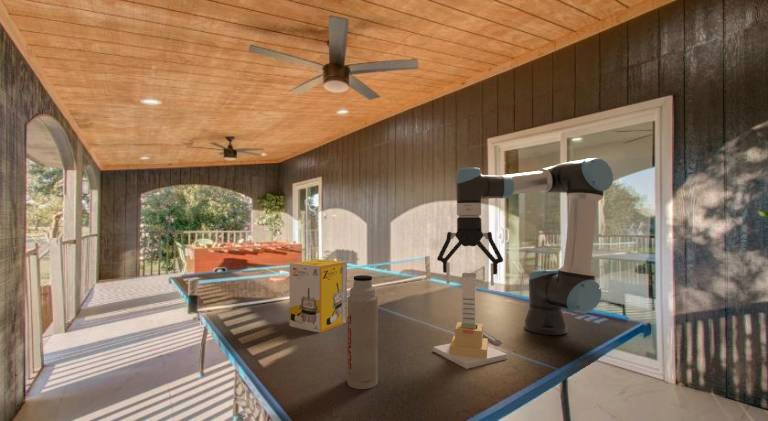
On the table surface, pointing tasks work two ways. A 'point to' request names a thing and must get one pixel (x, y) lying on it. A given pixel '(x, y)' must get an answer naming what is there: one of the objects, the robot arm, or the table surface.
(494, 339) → the adjustable wrench
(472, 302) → the column
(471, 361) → the stand
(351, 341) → the thermos bottle
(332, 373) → the table surface
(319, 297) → the packaging box
